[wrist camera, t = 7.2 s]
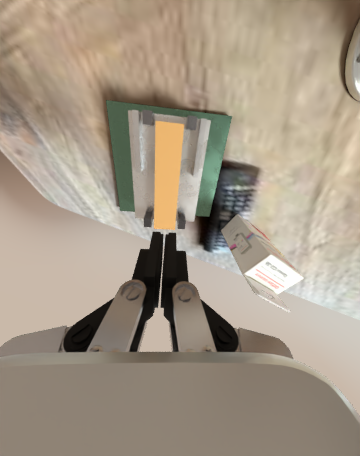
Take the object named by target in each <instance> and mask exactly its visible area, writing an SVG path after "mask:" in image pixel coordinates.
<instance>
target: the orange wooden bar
mask: <svg viewBox="0 0 360 456" xmlns="http://www.w3.org/2000/svg"><path fill="white" fill-rule="evenodd" d="M183 132H184V124H179V123H170V122H162V121H155V197H154V229H171V230H175V222H176V211H177V200H178V189H179V177H180V166H181V155H182V143H183Z"/></svg>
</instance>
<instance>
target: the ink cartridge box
mask: <svg viewBox="0 0 360 456" xmlns="http://www.w3.org/2000/svg"><path fill="white" fill-rule="evenodd" d="M221 232H222V234H223V236H224V238H225V240H226V242H227V244H228V246H229V248H230V250H231V252H232V254H233V256H234V258H235V260H236V262H237V264H238V266H239V268H240V270H241V272H242V274H243V276H244V277H245V278H246V280H247V282H248V283H249V285H250V287H251V288H252V290H253V292H254V293H255V294H256V295H258V296H259V297H261V298H263V299H265V300H267V301H268V302H271V303H272V304H274V305H276V306H278V307H280V308H282V309H284V310H285V311H287V312H290V311H289V309H288V308H287V306H286V305H285V304H284V303H283V301H282V300H281V299H280V298H279V296H278V295H277V294H278V293H280V292H282V291H284V290H285V289H287V288H289V287H290V286H292V285H294V284H296V283H297V282H299V281H300V280H302V279H304V278H303V276H302V275H301V274H300V273H299V272H298V271H297V270H296V269H295V268H294V267H293V266H292V265H291V264H290V262H289V261H288V260H287V259H286V258H285V257H284V256H283V255H282V254H281V252H280V251H279V250H278V249H277V248H276V247H275V246H274V245H273V243H272V242H271V241H270V240H269V239H268V238H267V237H266V236H265V235H264V234H263V233H262V232H260V231H259V230H258V229H257V228H255V227H254V226H253V225H251V224H250V223H249V222H247V221H246V220H245V219H243V218H242V217H241V216H240V215H238V214H237V215H236V216H235V217H234V218H233V219H232V220H231V221H230V222H229V223H228V224H227V225H226V226H225V227H224V228H223V229H222V230H221ZM261 290H262V291H264V292H266V293H267V294H269V295H271V296H272V297H273V298H274V299H273V298H270V297H269V296H267V295H266V294H264V293H263V292H262V291H261Z"/></svg>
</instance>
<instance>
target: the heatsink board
mask: <svg viewBox="0 0 360 456" xmlns="http://www.w3.org/2000/svg"><path fill="white" fill-rule="evenodd" d="M106 104H107V112H108V120H109V128H110V135H111V143H112V151H113V159H114V167H115V174H116V182H117V190H118V198H119V206H120V211H133V212H135V218H144V227H151V226H152V221H153V219H154V197H155V121H162V122H170V123H179V124H184V132H183V143H182V155H181V166H180V177H179V189H178V200H177V211H176V221H177V224H178V229H185V222H186V221H192V222H194V219H195V216H208V217H209V216H210V211H211V207H212V202H213V198H214V194H215V189H216V185H217V180H218V176H219V172H220V167H221V163H222V158H223V154H224V150H225V145H226V141H227V136H228V132H229V127H230V123H231V119H232V116H226V115H218V114H211V113H203V112H195V111H187V110H179V109H171V108H164V107H156V106H148V105H140V104H132V103H124V102H117V101H109V100H106Z"/></svg>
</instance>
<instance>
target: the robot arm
mask: <svg viewBox="0 0 360 456" xmlns="http://www.w3.org/2000/svg"><path fill="white" fill-rule="evenodd" d="M345 78H346V85H347V88H348V90H349V93H350V94H351V95H352V96H353V98H354V99H356V100H357V101H359V102H360V20H359V22H358V24H357V26H356V28H355V31H354V33H353V36H352V39H351V42H350V45H349V49H348V53H347V58H346V66H345ZM162 253H163V234H161V232H153V234H152V239H151V244H150V248H149V249H141V250H140V253H139V256H138V260H137V263H136V267H135V270H134V274H133V277H132V280H129V281H127V282H125V283H124V284H123V285H122V286H121V287H120V288H119V290H118V292H117V294H116V296H115V298H113V299H112V300H110V301H109V302H107V303H106V304H104V305H103V306H101V307H100V308H98V309H97V310H95V311H94V312H92V313H90V314H89V315H87V316H86V317H84V318H83V319H82V320H80V321H78V322H77V323H76V324H75V325H73V326H71V327H67V326H62V327H57V328H52V329H48V330H44V331H38V332H34V333H29V334H24V335H20V336H17V337H15V338H12V339H11V340H9V341H7V342H6V343H4V344H3V345H2V346H1V347H0V456H360V416H359V414H358V413H357V412H356V410H355V409H354V407H353V406H352V405H351V403H350V402H349V401H348V400H347V398H346V397H345V396H344V395H343V393H342V392H341V391H340V390H339V389H338V388H337V387H336V386H335V385H334V384H333V383H332V382H331V381H330V380H329V379H328V378H326V377H325V376H324V375H322V374H321V373H319V372H318V371H316V370H314V369H313V368H311V367H309V366H307V365H305V364H303V363H301V362H299V361H296V360H294V359H293V357H292V355H291V352H290V350H289V348H288V347H287V346H286V345H285V343H283V342H282V341H281V340H280V339H278V338H275V337H272V336H269V335H265V334H261V333H257V332H254V331H250V330H246V329H243V328H239V329H236V328H233V327H232V326H231V325H230V324H229V323H228V322H227V321H226V320H225V319H223V318H222V317H221V316H220V315H218V314H217V313H216V312H215V311H214V310H213V309H212V308H210V307H209V306H208V305H207V304H206V303H205V302H203V301H202V300H201V299H200V296H199V293H198V290H197V288H196V287H195V286H194V285H193V284H192V283H189V281H188V271H187V260H186V252H185V251H176V233H169V235H168V234H166V237H165V249H164V261H163V273H162V275H163V276H162V292H161V308H164V316H165V318H166V319H167V320H168V321H169V329H170V338H171V347H172V352H139V350H140V346H141V343H142V339H143V335H144V332H145V329H146V325H147V320H148V319H150V318H151V317H152V316H153V313H154V310H155V308H156V307H157V308H158V302H159V291H160V279H161V269H162Z"/></svg>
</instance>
